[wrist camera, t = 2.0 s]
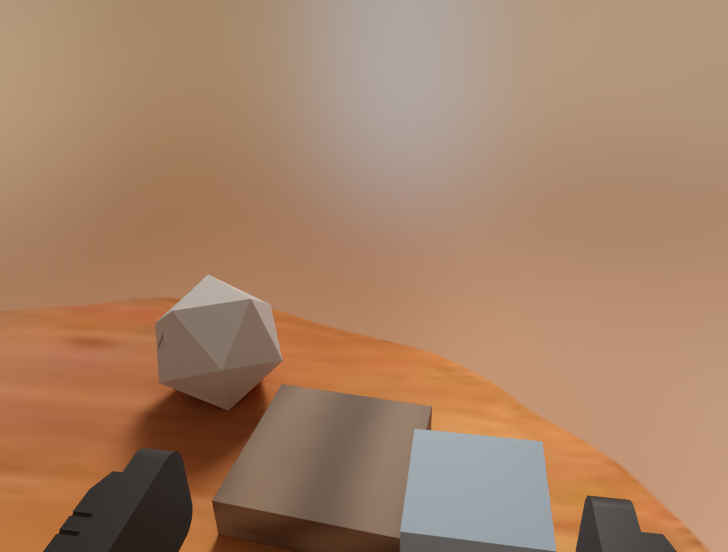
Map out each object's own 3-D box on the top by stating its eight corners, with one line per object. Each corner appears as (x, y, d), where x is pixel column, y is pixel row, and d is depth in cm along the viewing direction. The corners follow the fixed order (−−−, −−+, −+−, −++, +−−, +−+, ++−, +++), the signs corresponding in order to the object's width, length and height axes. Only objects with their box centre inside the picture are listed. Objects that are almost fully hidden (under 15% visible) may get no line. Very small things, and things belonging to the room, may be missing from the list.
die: (205, 349, 50) (118, 294, 42) (294, 300, 48) (219, 234, 41) (217, 439, 45) (119, 394, 37) (316, 388, 43) (235, 330, 36)
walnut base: (219, 539, 33) (211, 500, 32) (285, 419, 42) (281, 384, 40) (399, 578, 31) (399, 538, 30) (430, 442, 39) (431, 406, 38)
